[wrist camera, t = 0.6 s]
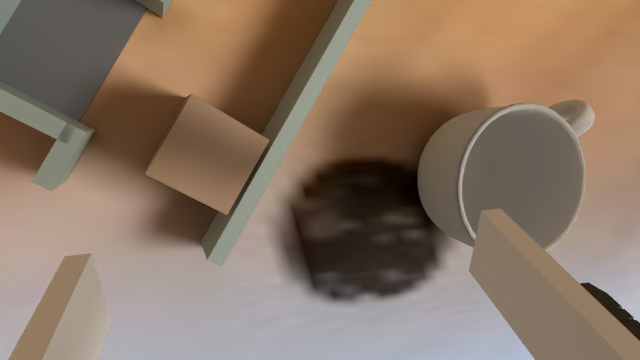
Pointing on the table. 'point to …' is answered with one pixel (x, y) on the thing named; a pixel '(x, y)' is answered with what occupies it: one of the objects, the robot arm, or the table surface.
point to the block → (206, 154)
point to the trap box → (97, 60)
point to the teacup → (507, 169)
